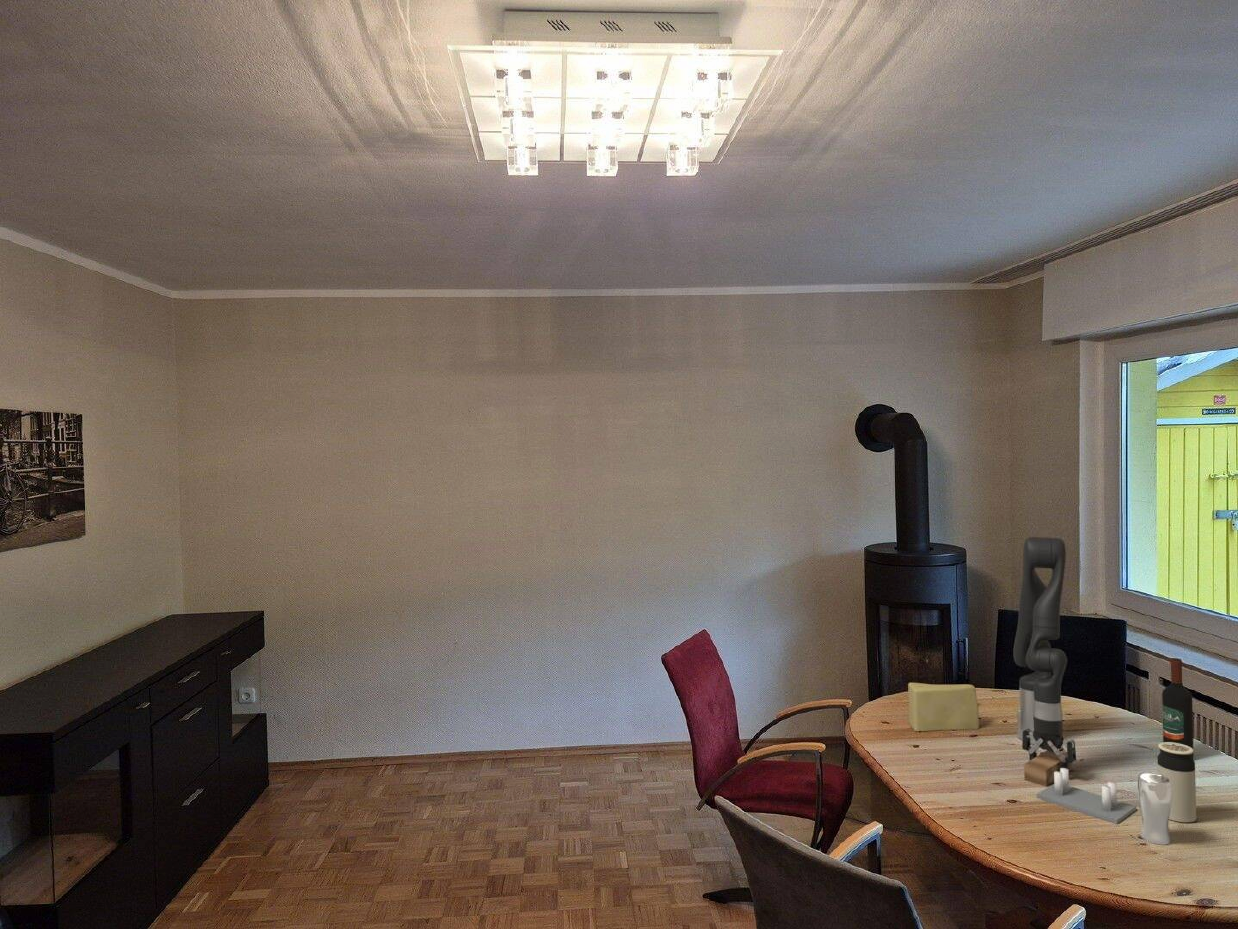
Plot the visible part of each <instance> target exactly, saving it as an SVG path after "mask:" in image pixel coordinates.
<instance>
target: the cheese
mask: <svg viewBox="0 0 1238 929" xmlns="http://www.w3.org/2000/svg"><path fill="white" fill-rule="evenodd" d="M907 688H908V689H907V690H908V692H907V693H908V696H907V697H908V721H909V722H908V723H909V725H910V727H912V729H913V731H914V732H916V731H917V732H918V733H920V732H919V731H921V732H932V731H933V732H934V731H935V732H937V731H965V730H966V731H967V730H968V731H969V730H979V728H980V719H979V718H980V717H979V711H980V710H979V703H978V696H977V690H976V688H975V686H974V685H973V684H968V683H967V684H966V683H964V684H930V683H920V682H909V683H908V684H907Z"/></svg>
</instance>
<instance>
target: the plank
mask: <svg viewBox="0 0 1238 929" xmlns="http://www.w3.org/2000/svg"><path fill="white" fill-rule="evenodd" d="M1058 750H1059V749H1058ZM1059 751H1060V750H1059ZM1066 754H1067V756H1068V753H1067V751H1066ZM1061 763H1062V761H1061V760H1060V758H1059V757H1058V756H1057V755H1056V754H1055V752H1051V751H1048V750H1044V751H1043V752H1042V753H1040V754H1039V755H1038V754H1037V757H1035V758H1034V759H1032V760H1030V761H1027V762H1025V763H1024V764H1023V771H1024V781H1027V782H1030V783H1033V784H1036V785H1040V786H1043V787H1045V788H1048V787H1049V786H1051V785H1052V784H1054V772H1055V771H1058V772H1060V768H1061ZM1073 763H1074V762H1073ZM1073 763H1069V772H1070V771H1072V770H1073Z"/></svg>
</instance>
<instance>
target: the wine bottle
mask: <svg viewBox="0 0 1238 929" xmlns="http://www.w3.org/2000/svg"><path fill="white" fill-rule="evenodd" d="M1170 679H1171V680H1170V684H1169V685H1168V686H1166V687H1165V688H1163V690H1162V694H1161V703H1162V704H1161V705H1162V710H1161V711H1162V712H1161V713H1162V743H1163V742H1173V743H1179V744H1183V745H1186V746H1189V747H1191V748H1192V749H1193V750H1194V718H1193V715H1194V712H1193V709H1194V708H1193V695H1192V693H1191V692H1190V690H1188V689H1187V688H1186V687H1184V685H1183V660H1182V659H1181V658H1176V657H1174V658H1173V657H1172V658H1170ZM1194 754H1195V752H1193V753H1192V758H1194V757H1195V756H1194Z"/></svg>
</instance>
